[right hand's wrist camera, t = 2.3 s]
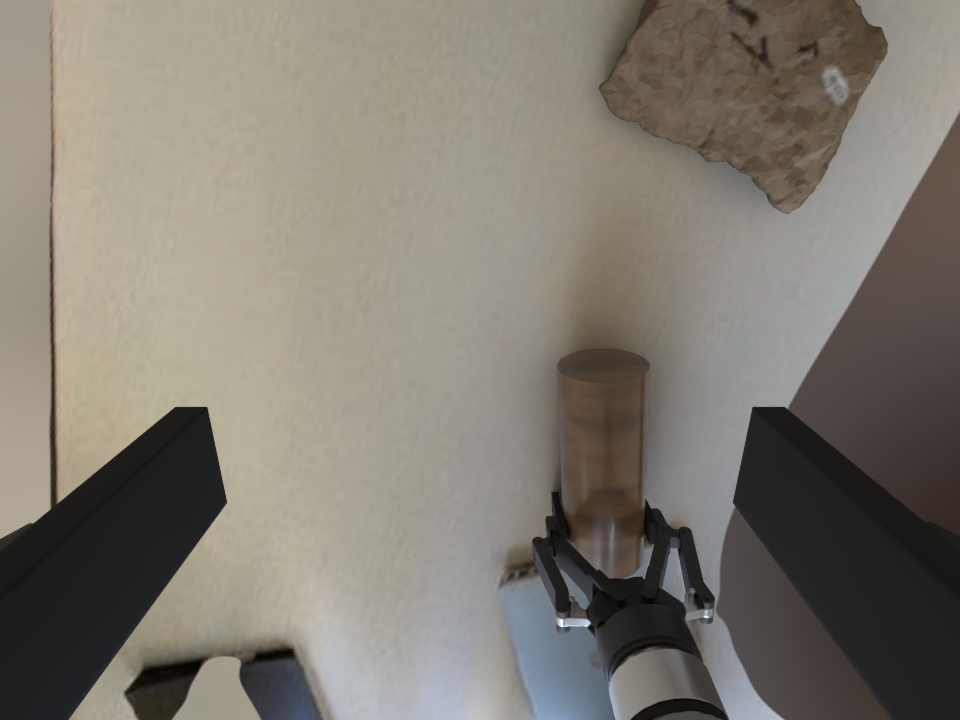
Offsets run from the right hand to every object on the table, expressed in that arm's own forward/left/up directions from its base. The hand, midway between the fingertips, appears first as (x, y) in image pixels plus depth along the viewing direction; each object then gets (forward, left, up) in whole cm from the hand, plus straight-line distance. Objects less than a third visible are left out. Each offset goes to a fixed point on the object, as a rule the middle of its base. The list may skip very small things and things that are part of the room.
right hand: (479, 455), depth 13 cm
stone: (-21, +14, -41) cm, 48 cm away
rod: (+15, +21, -41) cm, 48 cm away
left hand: (+21, +25, -40) cm, 52 cm away
